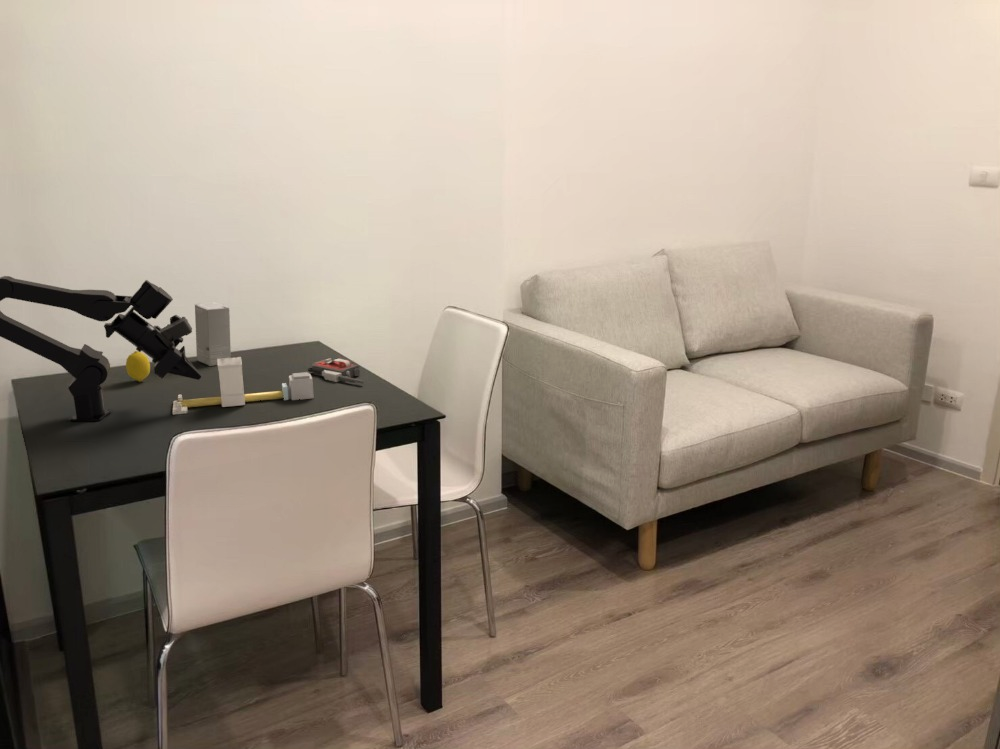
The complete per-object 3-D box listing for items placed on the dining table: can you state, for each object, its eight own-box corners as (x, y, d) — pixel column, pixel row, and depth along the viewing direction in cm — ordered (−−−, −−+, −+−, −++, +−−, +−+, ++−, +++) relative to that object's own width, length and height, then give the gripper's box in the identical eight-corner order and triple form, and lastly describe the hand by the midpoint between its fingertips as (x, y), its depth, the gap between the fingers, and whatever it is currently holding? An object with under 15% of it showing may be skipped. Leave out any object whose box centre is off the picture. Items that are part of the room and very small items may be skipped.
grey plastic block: (284, 401, 194) (282, 378, 193) (282, 395, 198) (280, 373, 197) (313, 398, 196) (312, 376, 195) (311, 392, 200) (310, 371, 199)
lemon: (156, 378, 212) (152, 348, 209) (145, 385, 206) (141, 354, 204) (135, 378, 212) (131, 347, 210) (123, 384, 207) (119, 353, 205)
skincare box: (196, 361, 228) (190, 304, 224) (221, 356, 233) (215, 300, 229) (209, 367, 222) (204, 308, 218) (235, 362, 227) (229, 305, 223)
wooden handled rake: (172, 414, 185) (171, 406, 184) (173, 403, 192) (173, 395, 192) (292, 402, 193) (292, 394, 192) (289, 392, 201) (288, 384, 200)
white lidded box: (221, 407, 189) (217, 366, 186) (221, 398, 195) (217, 358, 192) (245, 404, 190) (241, 364, 188) (244, 396, 196) (240, 356, 194)
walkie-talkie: (301, 376, 215) (360, 388, 205) (300, 360, 214) (359, 371, 204) (325, 368, 222) (383, 380, 212) (324, 352, 221) (382, 363, 211)
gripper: (164, 315, 174) (225, 361, 180) (168, 299, 191) (223, 342, 197) (128, 355, 174) (190, 400, 180) (135, 335, 191) (191, 377, 197)
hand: (200, 377), depth 189 cm, fingers closed
